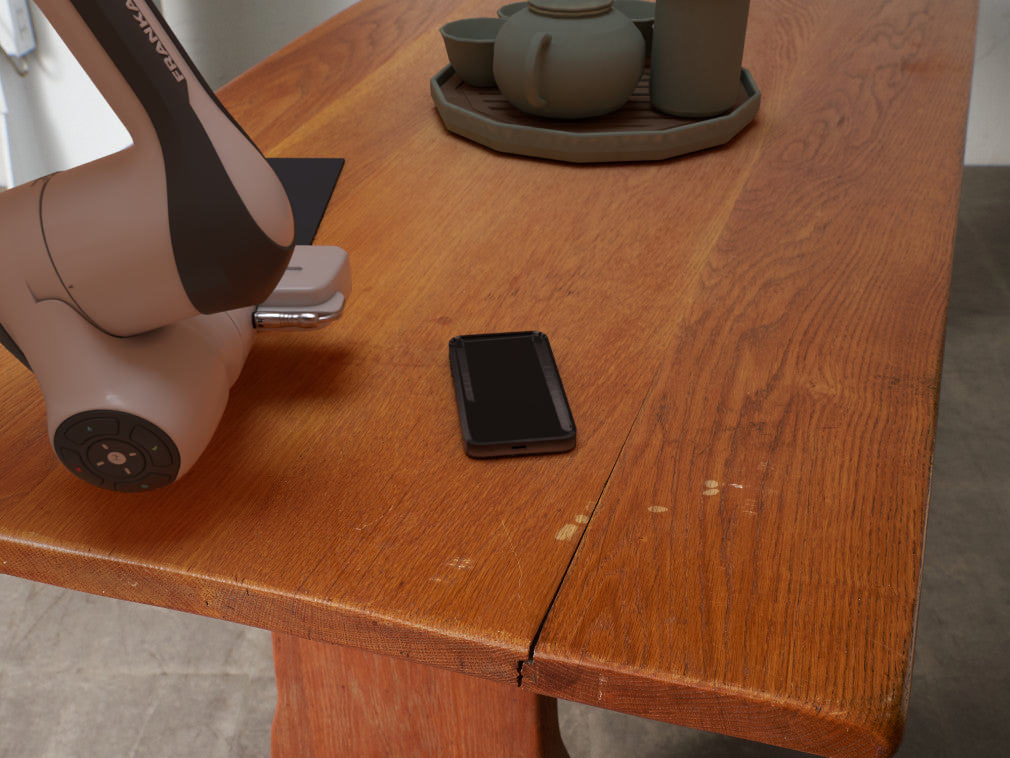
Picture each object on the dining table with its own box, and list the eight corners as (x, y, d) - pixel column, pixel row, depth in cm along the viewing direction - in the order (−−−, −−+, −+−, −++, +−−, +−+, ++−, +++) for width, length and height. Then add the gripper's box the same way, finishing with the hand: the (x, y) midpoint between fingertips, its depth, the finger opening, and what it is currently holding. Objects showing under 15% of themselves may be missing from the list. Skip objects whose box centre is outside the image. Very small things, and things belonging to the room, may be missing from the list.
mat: (114, 254, 93) (112, 250, 93) (183, 160, 112) (182, 157, 112) (307, 255, 93) (307, 251, 93) (345, 161, 112) (344, 157, 111)
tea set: (728, 64, 140) (746, -71, 130) (779, 170, 109) (806, 3, 99) (444, 63, 141) (438, -71, 131) (414, 167, 110) (403, 2, 100)
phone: (545, 329, 80) (579, 437, 68) (545, 342, 80) (579, 450, 69) (445, 336, 79) (463, 445, 67) (446, 348, 80) (464, 459, 68)
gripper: (334, 282, 68) (361, 201, 78) (31, 280, 68) (99, 199, 79) (344, 363, 72) (368, 276, 82) (57, 361, 72) (119, 274, 83)
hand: (235, 238), depth 80 cm, fingers closed on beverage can, 6 cm apart
